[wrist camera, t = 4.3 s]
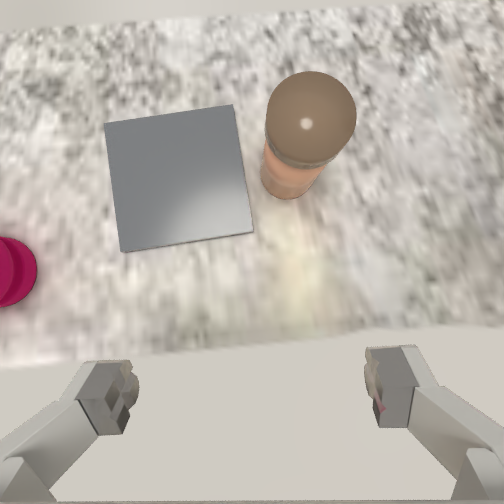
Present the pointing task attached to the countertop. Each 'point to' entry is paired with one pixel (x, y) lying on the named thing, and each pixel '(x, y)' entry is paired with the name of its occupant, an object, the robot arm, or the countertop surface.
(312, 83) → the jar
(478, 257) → the countertop surface
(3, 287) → the pepper mill
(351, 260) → the countertop surface
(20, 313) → the countertop surface
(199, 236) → the pad
